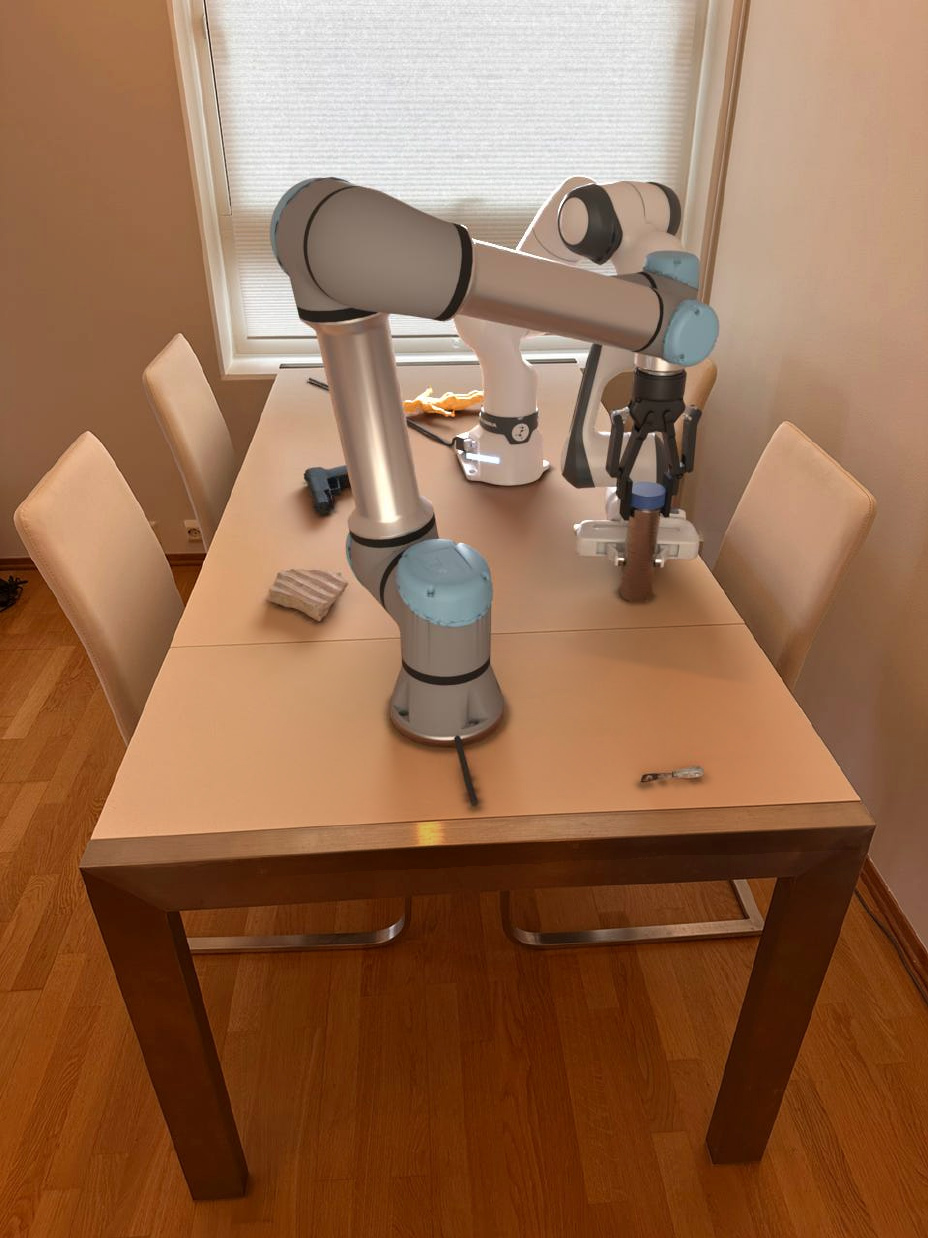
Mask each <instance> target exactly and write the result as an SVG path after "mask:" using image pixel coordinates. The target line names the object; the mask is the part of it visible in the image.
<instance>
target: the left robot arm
mask: <svg viewBox="0 0 928 1238" xmlns="http://www.w3.org/2000/svg"><path fill="white" fill-rule="evenodd" d="M269 224H270V225H269V241H270V246H271V250H272V254H273V256H274V258H275V260H276V261H277V264H278V265H279V267H280V268H281V270H282V271H283V273H285V275H287V276H288V277H289V282H290V285H291V290H292V294H293V299H294V302H295V306H296V310H297V315H298V318H299V320H300V321H301V322H302V323H304V324H305V325H306V326H308V327H310V328H311V329H312V330H313V331H314V332H315V334H316V338H317V344H318V348H319V351H320V356H321V360H322V365H323V368H324V369H323V370H324V375H325V378H326V383H327V385H328V387H329V388H328V391H329V396H330V400H331V404H332V409H333V413H334V418H335V422H336V427H337V432H338V436H339V441H340V445H341V448H342V449H341V450H342V453H343V454H342V455H343V458H344V463H345V465H346V467H347V471H348V476H349V480H350V484H351V486H350V488H351V493H352V497H353V502H354V508H353V509H352V511H351V512H350V514H349V515H348V517H347V527H348V531H349V532H348V533H347V535H346V540H345V556H346V559H347V564H348V565H349V567H350V570H351V572H352V574H353V576H354V577H355V579H356V581H358V583H359V584H360V585H361V587H363V588H364V589H365V590H367V591H368V592H369V594H370V595H371V596H372V597H373V598H374V599H375V601H376V602H377V603H378V604H379V605H380V606H381V607H382V608H383V609H384V610H385V611H386V613H387V614H388V615H389V616H390V617H391V618H392V620H393V621H394V622H395V623H396V624H397V626H398V630H399V633H400V634H399V635H400V655H401V667H400V669H399V672H398V675H397V678H396V681H395V684H394V687H393V690H392V693H391V696H390V700H389V706H390V718H391V721H392V724H393V725H394V727H395V728H396V729H397V731H398V732H399V733H400V734H402V735H403V736H404V737H406V738H407V739H409V740H411V741H413V742H415V743H417V744H420V745H421V744H422V745H425V746H430V747H437V748H454V747H455V749H456V752H457V755H458V756H457V757H458V760H459V764H460V767H461V772H462V775H463V780H464V785H465V787H466V792H467V795H468V798H469V801H470V805H471V806H472V807H476V806H477V805H478V804H479V801H478V798H477V795H476V791H475V788H474V784H473V781H472V777H471V772H470V769H469V768H470V767H469V765H468V760H467V758H466V753H465V749H464V746H467V745H471V744H473V743H476V742H480V741H481V740H483V739H485V738H486V737H488V736H489V735H491V734H492V733H493V732H494V731H495V730H496V729H498V727H499V726H500V724H501V722H502V720H503V717H504V696H503V693H502V690H501V686H500V684H499V681H498V679H497V677H496V674H495V672H494V668H493V666H492V664H491V654H492V653H491V651H492V649H491V648H492V647H491V645H492V602H493V599H494V590H493V582H492V574H491V568H490V565H489V563H488V561H487V560H486V558H485V557H484V555H482V554H481V553H480V552H479V551H478V550H477V549H475V548H474V547H473V546H470V545H468V544H466V543H464V542H459V543H456V542H455V540H453V539H446V538H440V537H439V532H438V531H439V530H438V526H437V519H436V514H435V509H434V505H433V503H432V502H431V501H430V500H429V498H427V497H425V496H424V495H421V494H420V489H419V485H418V478H417V472H416V467H415V461H414V456H413V451H412V444H411V439H410V434H409V433H410V432H409V429H408V422H407V421H406V419H407V416H406V412H405V410H404V404H403V402H404V400H403V393H402V388H401V382H400V378H399V372H398V371H399V370H398V366H397V360H396V354H395V349H394V342H393V338H392V332H391V331H392V330H391V326H390V321H389V320H390V319H389V317H390V316H391V315H399V316H408V317H414V318H422V319H427V320H432V321H437V322H443V323H446V322H449V321H451V320H454V317H455V316H456V315H457V314H458V315H462V316H467V317H472V318H476V319H481V320H486V321H491V322H495V323H500V324H505V325H509V326H514V327H519V328H524V329H528V330H533V331H538V332H543V333H546V334H548V335H553V336H556V337H562V338H567V339H572V340H576V341H580V342H586V343H591V344H593V343H595V344H599V345H604V346H609V347H613V348H618V349H623V350H628V351H631V352H635V361H634V363H635V365H636V366H637V367H635V368H633V373H632V385H631V397H630V401H629V402H628V403H627V406H626V407H624V408H621V409H618V410H617V409H610V411H609V413H608V415H609V420H610V425H611V426H610V431H609V432H610V439H609V446H608V453H607V460H606V467H605V470H606V471H607V473H608V474H609V475H610V477H611V478H617V482H616V496H617V497H618V499H621V500H620V510H619V514H620V515H621V517H622V518H623V519H624V521H628V520H629V516H630V507H631V497H632V487H633V481H632V479H631V478H630V477H629V476H630V473H631V471H632V468H633V466H634V463H635V461H636V459H637V456H638V454H639V451H640V449H641V446H642V444H643V441H644V440H645V439H646V438H647V435H648V433H655V432H657V433H660V434H661V436H662V442H663V443H664V447H665V453H666V458H667V463H668V472H663V480H662V486H664V487H665V488H666V497H665V504H664V506H662V507H661V514H662V515H663V516H664V518H669V516H670V508H672V507H671V506H672V501H673V500H672V498H673V497H674V496H677V495H678V493H679V486H680V481H681V480H682V479H683V478H684V474H686V473H687V474H690V473H692V472H693V471H694V467H695V455H696V443H697V434H698V433H697V431H698V424H699V423H700V419H701V418H702V415H703V411H702V410H701V409H700V408H699V407H698V406H697V405H695V404H690V405H688V404H686V403H685V401H684V396H685V393H686V392H685V391H686V384H687V377H688V376H687V375H688V371H686V369H687V368H688V367H695V366H696V365H699V364H702V362H704V361H705V359H707V358H708V357H709V356H710V354H711V353H712V352H713V350H714V348H715V347H716V344H717V341H718V338H719V335H720V320H719V317H718V314H717V313H716V311H715V309H714V308H713V307H712V306H710V305H709V304H707V303H705V302H701V301H699V299H698V293H699V291H700V273H701V271H700V269H701V262H700V259H699V257H698V256H697V255H696V254H694V253H691V252H688V251H684V252H683V251H655V252H653V253H649V254H648V255H647V256H646V257H645V261H644V266H643V267H642V268H643V271H641V272H637V273H631V274H622V275H617V274H614V275H606V274H603V273H600V272H595V271H591V270H588V269H584V268H580V267H573V266H570V265H566V264H562V263H559V262H555V261H551V260H548V259H544V258H540V257H537V256H533V255H529V254H526V253H522V252H518V251H516V249H515V250H514V249H511V248H508V247H503V246H499V245H496V244H493V243H489V242H485V241H481V240H477V239H474V238H473V235H472V234H471V232H470V230H469V228H468V227H466V226H464V225H463V224H459V223H455V222H453V221H450V220H446V219H443V218H440V217H438V216H435V215H433V214H431V213H429V212H425V211H424V210H421V209H419V208H418V207H417V208H416V207H414V206H413V205H411V204H409V203H407V202H404V201H403V200H400V199H399V198H397V197H394V196H392V195H390V194H388V193H386V192H384V191H381V190H378V189H375V188H371V187H367V186H363V185H358V184H355V183H352V182H350V181H348V180H346V179H343V178H341V177H335V176H328V177H311V178H307V179H304V180H301V181H299V182H297V183H295V184H293V186H291V187H290V188H289V189H288V190H287V191H285V192H284V194H283V195H282V196H281V197H280V198H279V200H278V202H277V204H276V206H275V208H274V210H273V212H272V215H271V219H270V223H269ZM681 416H682V419H683V423H682V435H681V448H680V456H679V451H678V444H677V440H676V435H677V433H676V428H675V423H676V422H677V421H678V420H679V418H680V417H681ZM629 417H631V419H632V421H633V425H632V427H631V430H630V432H631V436H630V438H629V441H628V443H627V446H626V448H625V451H624V453H623V456H622V458H621V461H620V455H621V448H622V442H623V435H624V433H625V425H626V424H627V423H628V418H629ZM619 462H620V463H619Z"/></svg>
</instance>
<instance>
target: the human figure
mask: <svg viewBox="0 0 928 1238" xmlns="http://www.w3.org/2000/svg"><path fill="white" fill-rule="evenodd" d="M424 391H425V392H423V393H422V394H420V395H418V396H416V398H415V399H414V400H403V404H404V410H405V413H410V414H412V413H414V412H417V408H418V409H420V410H421V411H423V412H424V413H427V414H439V415H443V416H444V417H449V416H450V417H451V418H452V417H453V418H454V417H455V416H456V414H455V411H462V410H464V409H467V408H469V407H471V406H473V405H476V404H478V403H481V402H482V403H483V391H478V390H473V391H470V392H469V393H468V394H460V393H457V394H455V393H453V392H446V393H444V394H443V395H442V396H441V397H440V398H434V397H429V396H430V395H432V394H433V392H434V391H433V389H432V385H429V387H428V389H424ZM450 410H452V411H450Z"/></svg>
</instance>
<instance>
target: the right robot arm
mask: <svg viewBox="0 0 928 1238" xmlns="http://www.w3.org/2000/svg"><path fill="white" fill-rule="evenodd" d="M681 223H682V206H681V202H680V198H679V197H678V195H677V194H676V192H675V191H674V190H673V189H672V188H671V187H669V186H667V185H665V184H662V183H659V182H655V181H647V182H643V181H637V180H636V181H635V180H618V181H613V182H604V183H599V182H597V181H596V180H595V179H593V178H592V177H589V176H585V175H578V174H577V175H573V176H569V177H568V178H566V179H565V180H564V181H562V182H561V184H559V185H558V187H557V188H555V190H554V191H553V192H552V193H551V194H550V196H549V197H548V198H547V199H546V201H545V202H544V203H543V205H542V206H541V208H540V209H539V210H538V212H537V214H536V215H535V217H534V219H533V220H532V222H531V224H530V225H529V227H528V228H527V230H526V232H525V234H524V236H523V237H522V239H521V240H520V242H519V244H518V246H517V247H516V249H515V251H518V252H522V253H526V254H529V255H533V256H537V257H540V258H544V259H548V260H551V261H555V262H559V263H562V264H566V265H570V266H573V267H577V268H579V266H580V264H581V263H582V262H583V260H584V259H585V258H586V259H587V260H589V261H591V262H592V263H594V264H596V265H598V266H602V265H604V264H606V263H607V262H608V261H609V263H610V264H612V266H613V267H614V269H615V272H616V275H622V274H631V273H637V272H641V271H643V268H642V267H643V266H644V261H645V257H646V256H647V255H648V254H649V253H653V252H655V251H683V252H685V249H684V246H683V244H682V242H681V240H680V239H679V238H678V237H676V235H677V233H678V231H679V228H680V226H681ZM453 326H454V329H455V330H454V331H455V332H456V334H457V336H458V337H459V339H460V340H461V342H463V343H464V344H465V345H466V346H468V347H469V348H470V349H471V350H472V351H473V352H474V354H475V356H476V358H477V361H478V363H479V367H480V370H481V378H482V392H483V401H482V404H481V405H480V407H481V409H480V412H479V419H478V424H476V425H475V426H474V427H473V428H472V429H470V431H467V432H463V433H460V434H458V435H455V436H454V437H452V440H451V442H447V441H445V440H444V439H442V438H441V437H440V436H439V435H437V434H435V433H433V432H431V431H430V430H428V429H426V428H424V426H421V425H419V424H417V423H416V422H414V421H412V420H410V419H408V418H406V421H407V424H410V425H412V426H413V427H415V428H417V429H418V430H420V431H422V432H424V433H425V434H426V435H429V436H431V437H432V438H434V439H435V440H437V441H439V442H440V443H441V444H444V445H446V446H449V447H453V446H455V449H456V450H457V459H458V460H459V463H460V466H461V469H462V471H463V473H464V475H465V478H466V479H467V480H468V481H473V482H475V481H476V482H483V483H487V484H490V485H491V484H492V485H496V486H521V485H526V484H530V483H533V482H535V481H537V480H539V479H540V478H541V477H542V475H543V473H544V472H545V471H547V470H549V469H550V463H549V462H548V461H547V460H545V451H544V450H545V449H544V447H545V446H544V433H543V431H541V430H540V429H539V428H538V427H539V420H540V415H539V408H538V407H537V406H538V387H539V386H538V384H539V383H538V381H539V375H538V372H537V369H536V367H534V365H533V364H532V363H530V362H529V361H527V360H526V359H524V358H523V356H522V352H521V341H523V340H528V339H532V338H537V337H541V336H544V335H546V334H547V333H543V332H538V331H533V330H528V329H524V328H519V327H514V326H509V325H505V324H500V323H495V322H491V321H486V320H481V319H476V318H472V317H467V316H462V315H458V314H457V315H456V316H455V317H454V318H453ZM634 361H635V352H631V351H628V350H623V349H618V348H613V347H609V346H604V345H599V344H595V343H591V346H590V349H589V352H588V355H587V358H586V362H585V366H584V369H583V372H582V375H581V381H580V385H579V388H578V394H577V397H576V400H575V401H576V402H575V406H574V411H573V415H572V419H571V423H570V426H569V431H568V434H567V437H566V439H565V442H564V444H563V446H562V450H561V454H560V463H559V466H560V471H561V476H562V477H563V478H564V480H565V481H567V482H568V483H569V485H571V486H572V487H574V488H575V489H577V490H579V489H593V488H594V489H595V488H606V493H605V497H604V498H605V499H604V505H605V506H604V508H605V509H604V510H605V514H606V519H605V520H604V519H603V520H602V519H601V520H600V519H598V520H597V519H585V520H583V521H580V523H579V524H574V525H573V528H572V530H573V534H574V536H575V537H576V541H575V553H576V554H577V555H578V556H580V557H592V558H595V557H596V558H607V559H608V560H610V561H611V562H612V563H613V565H614V567H623V566H624V548H625V538H626V529H627V521H624V519H623V518H622V517H621V515H620V514H619V510H620V500H621V499H618V497H617V496H616V482H617V478H611V477H610V475H609V474H608V473H607V471H606V470H605V467H606V460H607V453H608V446H609V439H610V432H611V431H598V430H596V429H595V426H596V421H597V417H598V413H599V409H600V405H601V403H602V397H603V393H604V390H605V388H606V386H607V385H608V383H609V382H610V381H611V380H612V379H613V378H615V377H616V376H619V375H620V374H623V373H624V372H627V371H629V370H631V369H636V367H637V366H636V365H635V363H634ZM308 381H310V382H313V383H315V384H318V385H320V386H322V387H325V388H327V389H329V387H328V383H327V384H326V383H324V382H321V381H320V380H317V379H315V378H313V377H309V378H308ZM630 436H631V431H627V432H624V435H623V442H622V448H621V455H620V461H621V458H622V456H623V453H624V451H625V448H626V446H627V443H628V441H629V438H630ZM619 463H620V462H619ZM663 472H669V468H668V463H667V458H666V453H665V447H664V442H663V439H661V438H660V437H659V436H658V435H657V434H656V433H655V432H653V433H648V435H647V438H646V439H645V440H644V441H643V444H642V446H641V449H640V451H639V454H638V456H637V459H636V461H635V463H634V466H633V468H632V471H631V473H630V476H629V477H630V478H631V479H632V481H633V483H635V482H654V483H657V484H660V485H662V480H663ZM699 548H700V537H699V534H698V532H697V530H696V527H695V526H694V524H693V523H692V522H691V521H689V520H687V513H686V511H685V510H683V509H679V508H674V507H671V508H670V516H669V518H664V516H663V515H662V514H661V515H660V523H659V531H658V540H657V548H656V556H655V564H654V568H659V569H660V568H661V569H662V568H664V567H665V563H666V562H667V561H668V560H677V561H678V560H679V561H693V560H695V559H697V557H698V555H699Z"/></svg>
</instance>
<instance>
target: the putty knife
mask: <svg viewBox="0 0 928 1238" xmlns="http://www.w3.org/2000/svg"><path fill="white" fill-rule="evenodd" d="M704 772H705V771H704V768H702V767H701V766H697V765H695V766H688V767H683V768H679V769H675V770H673V771H671V772H653V773H652V772H651V773H650V772H649V773H644V774H642V776H641V779H640V783H642V784H645V783H648V782H653V781H659V780H665V779H668V778H673V779H674V778H675V779H693V778H694V779H695V778H700V777H702V776H703V775H704Z"/></svg>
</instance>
